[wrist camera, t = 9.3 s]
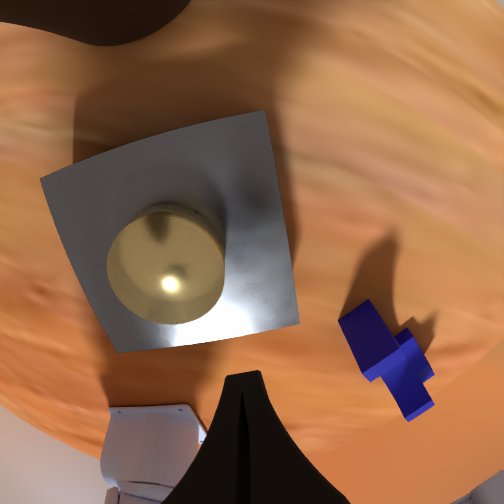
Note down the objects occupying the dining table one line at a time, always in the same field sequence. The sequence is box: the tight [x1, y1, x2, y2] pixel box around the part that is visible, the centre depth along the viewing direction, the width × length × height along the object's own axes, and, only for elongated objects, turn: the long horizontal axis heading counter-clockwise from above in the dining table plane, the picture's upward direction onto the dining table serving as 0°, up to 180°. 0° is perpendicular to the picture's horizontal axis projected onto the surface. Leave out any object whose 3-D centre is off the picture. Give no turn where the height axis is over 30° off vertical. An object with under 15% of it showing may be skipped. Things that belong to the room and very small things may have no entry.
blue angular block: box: [338, 299, 435, 422], centre depth 22 cm, size 12×4×6 cm, turn 39°
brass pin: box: [107, 204, 225, 325], centre depth 16 cm, size 6×6×6 cm
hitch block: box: [40, 110, 300, 353], centre depth 17 cm, size 12×12×4 cm
